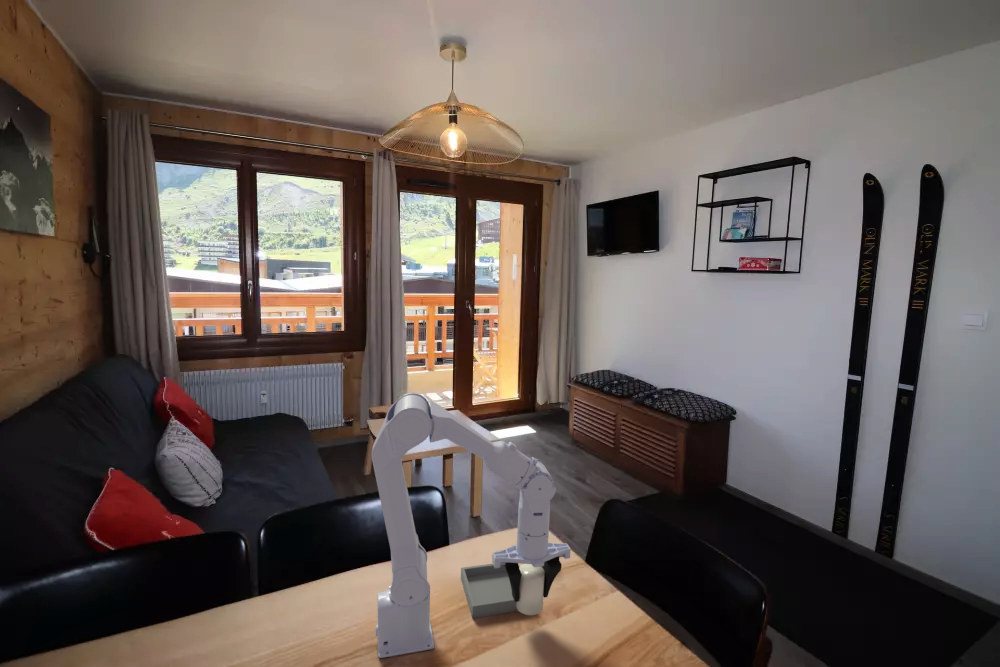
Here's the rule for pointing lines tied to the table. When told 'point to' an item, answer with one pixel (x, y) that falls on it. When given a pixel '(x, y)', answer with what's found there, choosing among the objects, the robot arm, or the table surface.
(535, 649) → the table surface
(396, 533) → the robot arm
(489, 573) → the tray
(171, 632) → the table surface
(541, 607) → the capsule
